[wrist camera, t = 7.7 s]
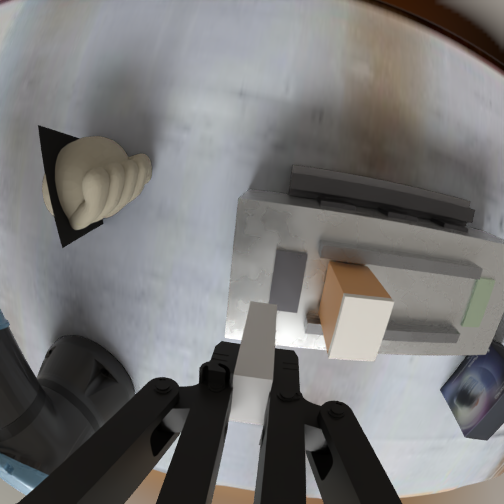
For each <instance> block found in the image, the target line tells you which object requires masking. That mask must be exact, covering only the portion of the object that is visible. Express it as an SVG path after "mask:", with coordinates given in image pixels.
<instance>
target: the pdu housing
mask: <svg viewBox="0 0 504 504" xmlns="http://www.w3.org/2000/svg"><path fill="white" fill-rule="evenodd" d="M329 261H330V262H338V263H345V264H353V265H360V266H368V268H369V269H370V270H371V271H372V273H373V274H374V275H375V277H376V278H377V279H378V281H379V282H380V283H381V284H382V286H383V287H384V288H385V290H386V291H387V292H388V294H389V295H390V297H391V298H392V299H393V301H394V305H393V308H392V311H391V315H390V318H389V321H388V324H387V327H386V330H385V333H384V336H383V339H382V342H381V345H380V348H379V351H378V353H377V354H396V355H486V353H487V351H488V349H489V346H490V344H491V342H492V340H493V337H494V335H495V333H496V330H497V328H498V325H499V323H500V320H501V318H502V315H503V313H504V240H503V239H501V238H498V237H496V236H494V235H492V234H490V233H487V232H485V231H483V230H478V229H474V228H470V227H466V226H465V227H464V226H461V225H459V224H457V223H454V222H450V221H446V220H442V219H437V218H432V217H431V220H430V219H426V218H421V217H416V216H413V215H411V214H409V213H407V212H403V211H398V210H393V209H388V208H382V207H378V209H374V208H368V207H363V206H357V205H353V204H352V203H350V202H348V201H342V200H336V199H330V198H324V197H317V199H313V198H306V197H300V196H292V195H289V194H285V193H277V192H270V191H262V190H254V189H248V190H247V191H246V192H245V193H244V194H243V195H241V196H240V197H239V198H238V207H237V216H236V226H235V235H234V245H233V255H232V265H231V275H230V286H229V296H228V307H227V318H226V329H225V338H230V339H237V340H242V336H243V332H244V327H245V323H246V319H247V314H248V310H249V306H250V301H253V302H260V303H268V304H275V305H277V318H276V337H275V345H282V346H291V347H300V348H309V349H320V350H327V349H326V344H325V339H324V335H323V331H322V326H321V322H320V317H319V313H318V311H319V307H320V302H321V298H322V293H323V288H324V284H325V279H326V274H327V269H328V264H329Z"/></svg>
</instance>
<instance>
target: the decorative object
mask: <svg viewBox="0 0 504 504" xmlns="http://www.w3.org/2000/svg"><path fill="white" fill-rule="evenodd" d="M38 128H39V136H40V144H41V151H42V157H43V164H44V170H45V175H44V178H43V184H42V192H43V198H44V202H45V205H46V207H47V209H48V210H49V211H50V213H51V214H52V215H53V216H54V218H55V222H56V226H57V230H58V233H59V237H60V241H61V244H62V248H63V247H65V246H67V245H68V244H70V243H72V242H73V241H75V240H77V239H78V238H80V237H82V236H83V235H85V234H87V233H88V232H90V231H92V230H93V229H95V228H97V227H99V226H100V225H102V224H103V221H102V219H103V218H108V217H111V216H113V215H114V214H116V213H117V212H119V211H120V210H121V209H122V208H123V207H124V206H125V205H126V204H128V203H129V202H131V201H132V200H134V199H135V198H136V197H137V196H138V195H139V194H140V193H141V191H142V190H143V188H144V185H145V184H146V183H148V182H149V181H150V179H151V176H152V166H151V161H150V159H149V157H148V156H147V155H145V154H137V155H134V156H130V157H128V156H127V154H126V152H125V151H124V149H123V148H122V147H121V146H120V145H119V144H118V143H116V142H115V141H113V140H111V139H108V138H105V137H101V136H92V137H83V138H80V139H79V138H76V137H73V136H70V135H67V134H64V133H61V132H58V131H55V130H52V129H49V128H45V127H42V126H39V125H38Z"/></svg>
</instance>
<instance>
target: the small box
mask: <svg viewBox="0 0 504 504" xmlns="http://www.w3.org/2000/svg"><path fill="white" fill-rule="evenodd" d="M440 391H441V393H442V394H443V396H444V398H445V400H446V402H447V403H448V405H449V407H450V409H451V411H452V413H453V415H454V417H455V418H456V420H457V422H458V424H459V426H460V428H461V430H462V432H463V435H464V437H466V438H472V439H479V440H488V439H489V438H490V437H491V436H492V435H493V434H494V433H495V432H496V431H497V430H498V429H499V428H500V426H501V425H502V424H503V423H504V346H503V345H502V344H500V343H498V342H495V341H494V340H492V342H491V344H490V346H489V349H488V351H487V353H486V355H467V357H466V358H465V359H464V361H463V362H462V363H461V365H460V366H459V367H458V369H457V370H456V371H455V372H454V374H453V375H452V376H451V377H450V379H449V380H448V381H447V382H446V383H445V385H444V386H443V387H442V388H441V389H440Z"/></svg>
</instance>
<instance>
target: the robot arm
mask: <svg viewBox="0 0 504 504" xmlns="http://www.w3.org/2000/svg"><path fill="white" fill-rule="evenodd" d="M276 318H277V305H275V304H268V303H260V302H253V301H250V306H249V310H248V314H247V319H246V323H245V327H244V332H243V336H242V340H241V344H236V343H230V342H224V341H221V342H220V343H219V344H218V345H216V346H215V349H214V352H213V355H212V358H211V360H210V361H209V362H206V363H204V364H202V365H201V367H200V370H199V384H197V385H194V386H187V387H179V385H178V384H177V383H176V382H175V381H174V380H172V379H170V378H166V377H158V378H155V379H152V380H151V381H149V382H148V383H147V384H146V385H145V386H144V387H143V388H142V389H141V390H140V391H139V392H138V393H137V394H135V395H134V388H133V385H132V382H131V380H130V378H129V376H128V374H127V372H126V371H125V369H124V368H123V367H122V365H121V364H120V363H119V362H118V361H117V360H116V359H115V358H114V357H113V356H112V355H111V354H110V353H109V352H108V351H106V350H105V349H104V348H102V347H101V346H99V345H98V344H96V343H94V342H93V341H91V340H88V339H86V338H83V337H79V336H64V337H62V338H60V339H59V340H57V341H56V342H55V343H54V344H53V345H52V346H51V347H50V348H49V350H48V351H47V354H46V356H45V359H44V361H43V363H42V366H41V368H40V371H39V373H38V376H37V378H36V376H35V375H34V373H33V371H32V370H31V368H30V366H29V364H28V363H27V361H26V359H25V357H24V355H23V354H22V352H21V350H20V348H19V346H18V344H17V342H16V340H15V338H14V336H13V334H12V332H11V330H10V328H9V325H10V324H9V322H8V320H6V319H5V317H4V315H3V313H2V311H1V309H0V478H2V479H3V480H4V481H5V482H7V483H8V484H10V485H11V486H12V487H14V488H15V489H17V490H18V491H20V492H22V493H23V494H25V495H26V496H25V497H24V498H23V499H22V500H21V501H20V502H18V503H17V504H124V503H125V502H126V501H127V500H128V498H129V497H130V496H131V495H132V494H133V492H134V491H135V490H136V489H137V488H138V486H139V485H140V484H141V483H142V481H143V480H144V479H145V478H146V476H147V475H148V474H149V473H150V471H151V470H152V469H153V468H154V466H155V465H156V464H157V463H158V461H159V460H160V459H161V458H162V456H163V455H164V454H165V453H166V451H167V450H168V449H169V447H170V446H171V445H172V444H173V442H174V441H175V440H176V438H177V437H178V436H179V434H180V432H181V435H180V438H179V440H178V443H177V446H176V449H175V452H174V454H173V457H172V460H171V463H170V466H169V468H168V471H167V474H166V477H165V480H164V483H163V485H162V488H161V491H160V494H159V496H158V499H157V502H156V504H211V503H212V498H213V494H214V489H215V485H216V480H217V476H218V471H219V466H220V462H221V457H222V452H223V448H224V443H225V438H226V434H227V429H228V421H235V422H242V423H249V424H256V425H263V430H262V435H261V439H260V443H259V445H260V453H259V462H258V471H257V479H256V488H255V496H254V504H306V465H305V450H306V454H307V457H308V460H309V463H310V466H311V469H312V471H313V474H314V477H315V480H316V483H317V486H318V488H319V491H320V494H321V497H322V500H323V502H324V504H402V503H401V500H400V498H399V497H398V495H397V493H396V491H395V489H394V487H393V485H392V483H391V482H390V480H389V478H388V476H387V474H386V472H385V470H384V469H383V467H382V465H381V463H380V461H379V459H378V457H377V456H376V454H375V452H374V450H373V448H372V446H371V444H370V443H369V441H368V439H367V437H366V435H365V433H364V432H363V430H362V428H361V426H360V424H359V422H358V421H357V419H356V417H355V415H354V413H353V411H352V410H351V408H350V407H349V406H348V405H346V404H345V403H343V402H339V401H329V402H326V403H324V404H323V405H322V406H319V405H316V404H313V403H311V402H309V401H307V400H305V399H304V398H303V396H302V393H301V392H300V384H299V365H298V364H299V363H298V356H297V355H296V353H295V352H294V351H293V350H285V349H277V348H275V337H276Z"/></svg>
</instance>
